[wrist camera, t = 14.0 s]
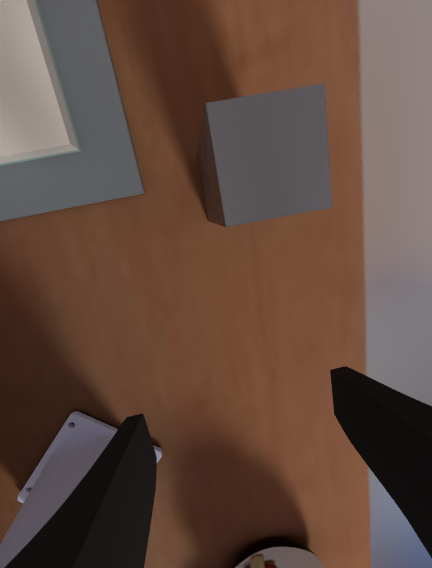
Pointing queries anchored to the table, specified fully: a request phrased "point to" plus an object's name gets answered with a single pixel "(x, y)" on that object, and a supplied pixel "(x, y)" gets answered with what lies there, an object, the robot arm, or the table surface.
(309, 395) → the table surface
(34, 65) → the tile
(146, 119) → the table surface
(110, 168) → the mat
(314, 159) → the block
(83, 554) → the robot arm
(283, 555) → the spread jar
